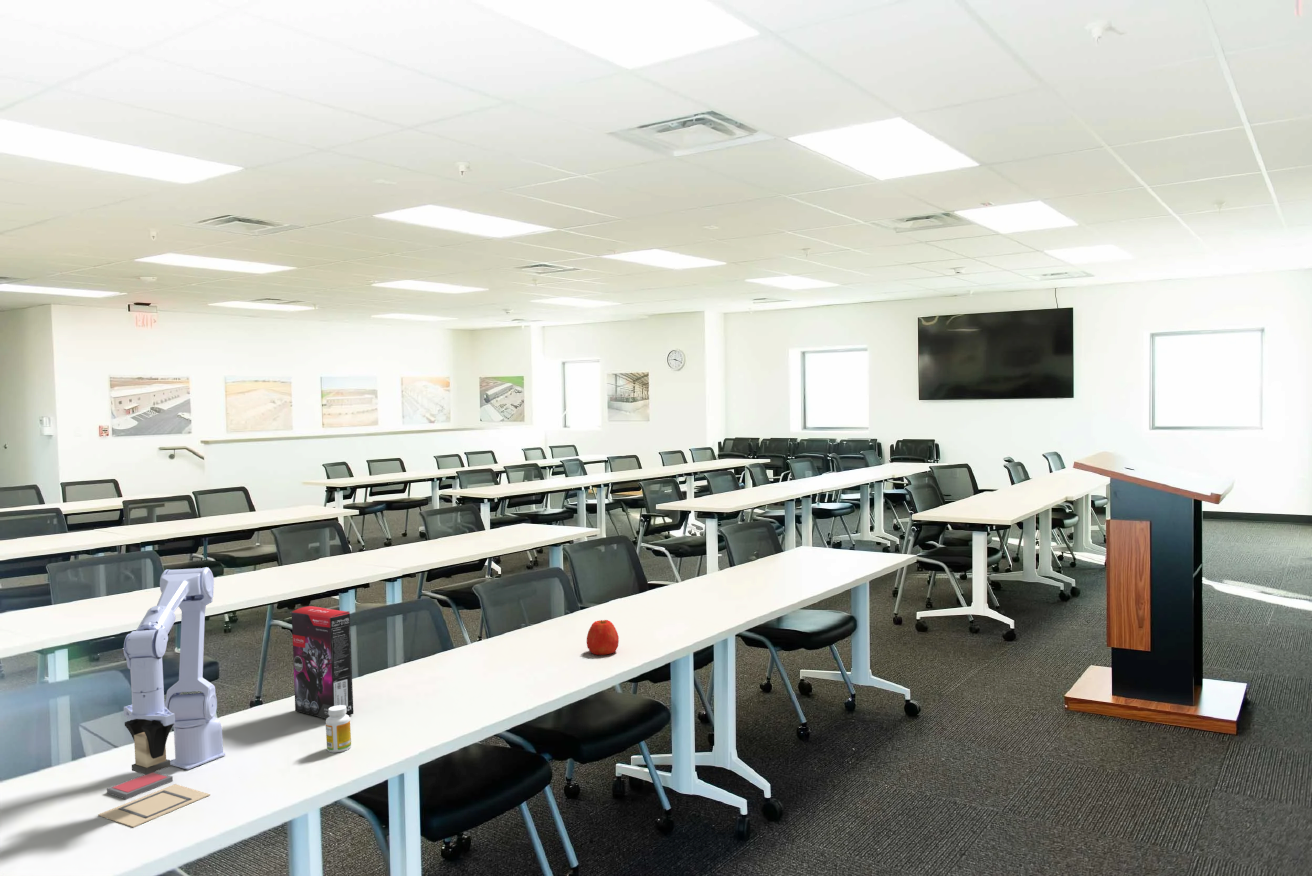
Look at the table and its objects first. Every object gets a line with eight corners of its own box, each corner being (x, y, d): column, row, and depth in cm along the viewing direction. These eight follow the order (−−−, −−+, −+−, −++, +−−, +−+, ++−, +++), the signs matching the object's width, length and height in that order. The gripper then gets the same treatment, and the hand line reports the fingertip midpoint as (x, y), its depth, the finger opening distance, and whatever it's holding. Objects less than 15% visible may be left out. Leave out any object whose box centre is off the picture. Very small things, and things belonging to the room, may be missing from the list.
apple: (606, 646, 295) (605, 614, 294) (625, 652, 287) (624, 619, 286) (580, 652, 288) (579, 620, 288) (599, 658, 280) (598, 625, 280)
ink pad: (153, 775, 198) (153, 770, 198) (172, 781, 195) (172, 776, 195) (107, 793, 190) (106, 788, 190) (126, 799, 186) (126, 794, 186)
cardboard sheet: (175, 784, 193) (175, 783, 193) (210, 795, 187) (210, 793, 187) (98, 815, 179) (98, 813, 179) (133, 827, 173) (133, 826, 173)
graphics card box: (293, 712, 239) (288, 609, 238) (315, 704, 244) (311, 604, 244) (333, 722, 229) (329, 616, 228) (356, 714, 235) (352, 610, 234)
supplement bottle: (354, 743, 214) (352, 703, 213) (347, 752, 208) (345, 711, 208) (331, 745, 214) (329, 704, 213) (323, 753, 208) (321, 712, 208)
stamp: (156, 761, 187) (154, 727, 187) (170, 766, 185) (168, 731, 184) (131, 770, 183) (130, 735, 182) (146, 774, 180) (144, 739, 180)
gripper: (107, 689, 183) (110, 755, 184) (149, 699, 176) (152, 767, 176) (141, 680, 189) (145, 744, 190) (183, 689, 182) (186, 755, 183)
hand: (150, 754), depth 184 cm, fingers closed on stamp, 4 cm apart
